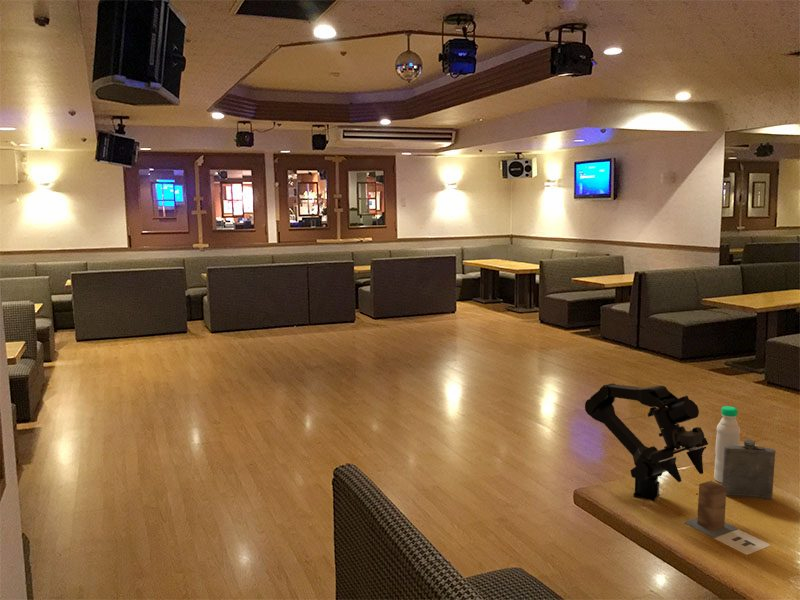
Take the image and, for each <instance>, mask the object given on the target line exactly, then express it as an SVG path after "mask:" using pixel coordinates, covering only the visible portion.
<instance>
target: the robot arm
mask: <svg viewBox="0 0 800 600" xmlns="http://www.w3.org/2000/svg"><path fill="white" fill-rule="evenodd" d="M616 399H624V400H631V401H637V402H639V403H640V404H641V405H643V406H646V407H650V408H649V411H648V413H647V417H648V418H649V417H653V416H654V419H655V421H656V423H657V427H658V428H659V430H660V432H659V433H658V436H659V438H661V437H662V438H663V441H664V443H665V446H664V447H663V449H659V450H658V448H657V447H656V446H654V445H652V446H650V447H649V446H646V445H645V444H643V442H642V441H641V440H640V439H639V438H638V437H637V436H636V435H635V434H634V432H632V431H631V429H630V428H629V427H628V426H627V425H626V424H625V423H624V422H623V421H622V419H621V418H619V417H618V415H617V414H616V411H615V406H614V405H613V404H614V402H615V401H616ZM699 410H700V409H699V407H698V405H697V404H696V403H695V401H693V400H692V399H690V398H689V396H688V395H684V396H681V397H677V396H676V395H674V394H673V393H672V392H671V391H669V390H668V388H667V386H665V385H663V384H662V385H652V386H646V387H645V386H644V387H641V386H633V385H632V386H631V385H624V384H616V383H613V382H611V383H608V384H607V383H606V384H603V385H602V386H600V388H599V390H598V391H597V392H595V393H594V394H593V395H591V397H590V398H588V399H587V400H586V401H585V403H584V411H585V412H586V414H587V415H588V416H590V417H591V418H592V419H593V420H594V421H597V422H599V423H601V424H603V425H604V426H605V427H606V428H607V430H609V431H610V432H611V433H612V434H613V436H614V437H615V438H616V439H617V440H618V441H619V442H620V444H622V446H623V447H624V448H625V449H626V450H627V452H628V453H630V455H631V456H632V458H633V459H632V460H633V463H634V465H635V466H634V467H632V469H630V476H631V478H633V479H634V492H633V494H632V497H636V498H640V499H645V500H649V501H655V500H656V498H657V497H659V495H660V483H661V482H660V481H659V477H661V476H662V475H663V473H664V472H665V471H666V472H668V474H669V475H670V476H671V477H672V478H673V479H675V480H676V482H678V483H681V482H682V477H681V475H680V474H681V473H680V472H679V469H678V466H677V464H676V462H677V456H675V457H674V455H675V454H679V453H681V452H684V451H686V452H685V453H686V455H687V457H688V459H689V460H690V461H691V463H692V465H693V466H694V468H695V470H696V471H697V472H698V473H699V475H702V474H704V465H703V462H704V461H703V453H704V451H705V449H707V446H708V445H709V442H708V440H707V439H706V437H705V434H704V433H705V432H704V431H703V429H702V427H699V426H696V427H693V428H692V430H686V428H685V427H684V425H682V426H681V425H680V423H681V424H682V423H685V422H688V421H690V420H693V419H696V418H698V416H699V414H700V411H699Z"/></svg>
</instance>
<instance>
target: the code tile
mask: <svg viewBox="0 0 800 600" xmlns="http://www.w3.org/2000/svg"><path fill="white" fill-rule="evenodd" d="M713 539H714V540H716V541H718V542H720V543H722V544H724V545H727V546H728V547H731V548H732V549H734V550H736V551H738V552H740V553H742V554H744V555H746V556H747V555H751V554H752V553H756V552H757V551H760V550H763V549H764V548H768V547H770V546H771V544H770V543H768V542H765V541H764V540H761V539H760V538H758V537H755V536H753V535H751V534H750V533H747V532H745V531H742V530H740V529H739V528H738V529H737V530H734V531H732V532H729V533H726V534H724V535H721V536H718V537H716V538H713Z"/></svg>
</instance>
